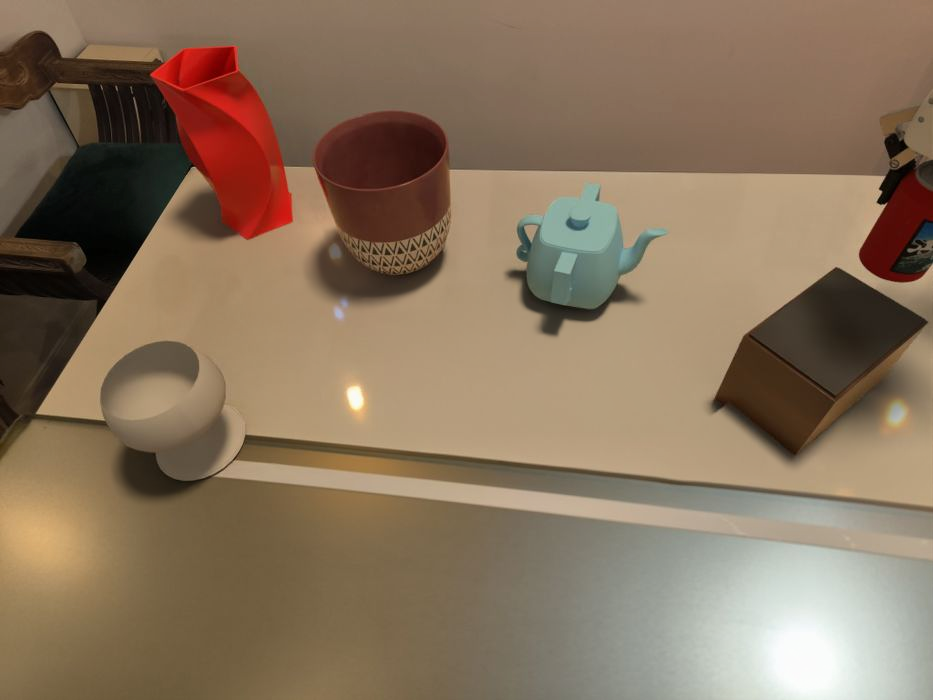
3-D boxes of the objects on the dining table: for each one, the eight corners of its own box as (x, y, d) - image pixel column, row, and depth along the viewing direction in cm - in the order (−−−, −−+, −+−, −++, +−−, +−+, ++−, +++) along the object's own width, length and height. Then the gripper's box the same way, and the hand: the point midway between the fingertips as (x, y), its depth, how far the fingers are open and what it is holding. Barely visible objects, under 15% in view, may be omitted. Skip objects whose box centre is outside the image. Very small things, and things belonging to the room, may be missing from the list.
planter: (326, 287, 100) (287, 178, 83) (373, 212, 111) (347, 103, 94) (436, 310, 95) (419, 200, 79) (474, 229, 107) (466, 118, 90)
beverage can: (904, 297, 65) (970, 207, 55) (843, 265, 68) (896, 176, 59) (934, 266, 67) (1002, 175, 58) (873, 237, 71) (929, 146, 61)
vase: (310, 195, 116) (262, 47, 94) (279, 245, 107) (218, 96, 85) (239, 187, 119) (176, 42, 97) (203, 236, 110) (125, 90, 88)
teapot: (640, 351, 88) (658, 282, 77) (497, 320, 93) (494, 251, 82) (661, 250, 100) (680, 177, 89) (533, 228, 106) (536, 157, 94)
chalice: (273, 438, 83) (232, 375, 71) (181, 509, 77) (121, 453, 65) (219, 382, 89) (174, 315, 78) (132, 443, 84) (69, 381, 72)
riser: (797, 334, 88) (837, 264, 77) (875, 387, 82) (931, 319, 71) (713, 398, 82) (744, 333, 71) (790, 461, 76) (837, 400, 65)
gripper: (1193, 63, 45) (1031, 245, 59) (955, -8, 54) (864, 164, 68) (1147, 100, 42) (990, 280, 56) (906, 19, 52) (822, 191, 66)
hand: (922, 215), depth 62 cm, fingers closed on beverage can, 6 cm apart
